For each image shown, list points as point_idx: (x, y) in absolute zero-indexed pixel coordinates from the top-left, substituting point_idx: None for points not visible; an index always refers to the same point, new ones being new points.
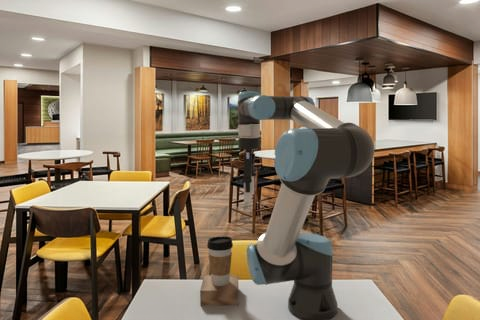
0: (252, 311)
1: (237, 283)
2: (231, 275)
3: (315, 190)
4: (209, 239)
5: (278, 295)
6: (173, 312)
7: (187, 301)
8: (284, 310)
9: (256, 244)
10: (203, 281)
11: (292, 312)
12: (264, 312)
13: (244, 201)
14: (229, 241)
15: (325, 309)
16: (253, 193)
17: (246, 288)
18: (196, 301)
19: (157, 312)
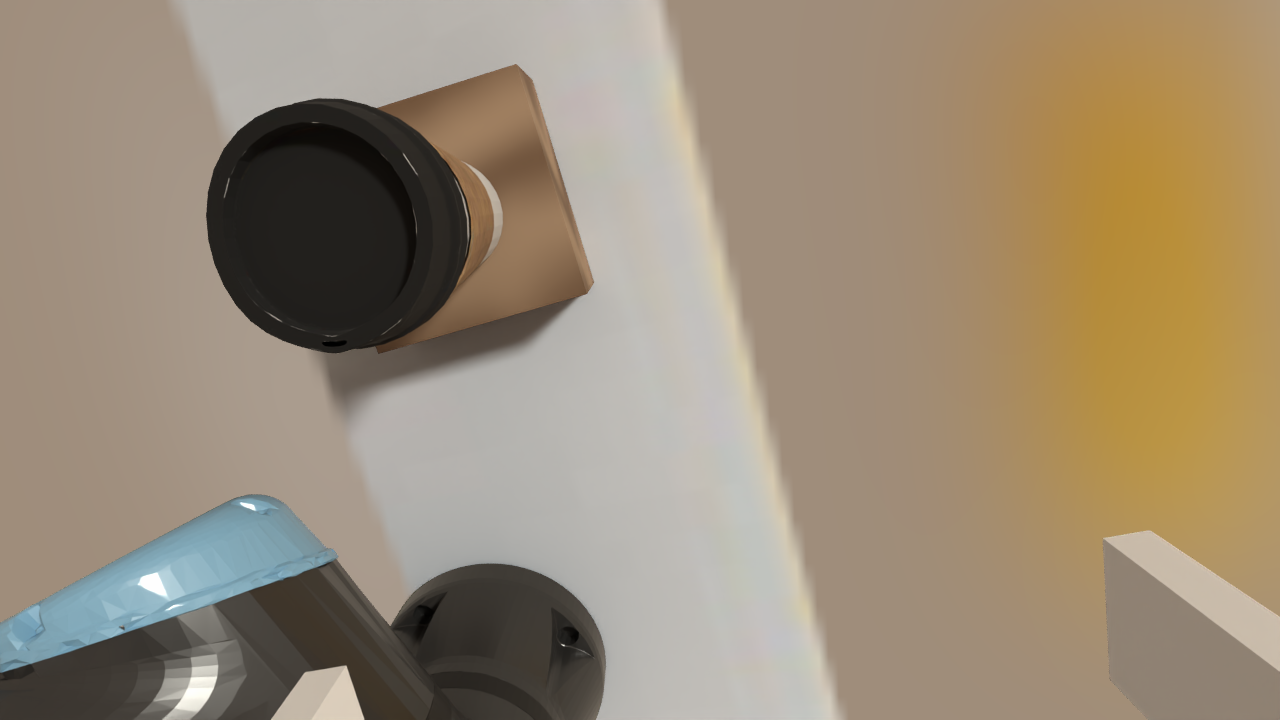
0: (379, 417)
1: (467, 324)
2: (569, 252)
3: None
4: (296, 115)
5: (581, 502)
6: (217, 23)
7: (356, 45)
8: (441, 552)
9: (52, 682)
10: (422, 101)
11: (415, 593)
12: (391, 472)
13: (307, 687)
14: (294, 343)
15: None
16: (1117, 677)
17: (614, 324)
18: (374, 98)
19: None
